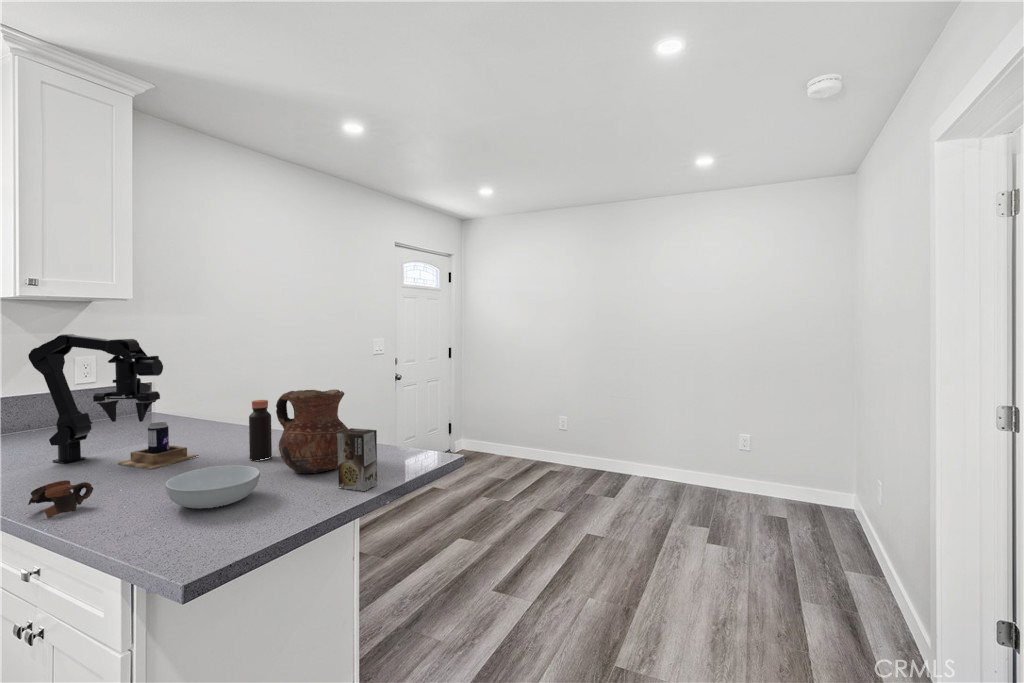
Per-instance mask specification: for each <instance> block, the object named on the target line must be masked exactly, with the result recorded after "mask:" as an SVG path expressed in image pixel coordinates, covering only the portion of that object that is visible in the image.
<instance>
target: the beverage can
mask: <svg viewBox="0 0 1024 683" xmlns="http://www.w3.org/2000/svg"><path fill="white" fill-rule="evenodd" d="M169 437H170V435H169V425H168V422H165V421H162V422H161V421H159V422H151V423H149V424H148V427H147V449H148V453H150V454H158V453H162V452H166V451H169V445H170V440H169Z"/></svg>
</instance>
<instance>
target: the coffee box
mask: <svg viewBox="0 0 1024 683" xmlns="http://www.w3.org/2000/svg"><path fill="white" fill-rule="evenodd" d="M337 436H338V468H337V469H338V470H337V471H338V474H337V475H338V476H337V477H338V479H337V480H338V488H339V487H341V488H346V489H354V490H353V491H355V490H361V491H360V492H363V491H365V492H367V491H369V490H370V489H369V488H371V487H373V486H375V485H377V486H378V455H377V454H378V449H377V448H378V446H377V444H378V443H377V442H378V441H377V437H378V436H377V429H365V428H355V427H354V428H348V429H347V430H344V431H342V432H339V433H337ZM375 487H376V486H375ZM373 488H374V487H373ZM346 489H345V490H346ZM368 489H369V490H368ZM371 489H372V488H371ZM366 490H367V491H366Z"/></svg>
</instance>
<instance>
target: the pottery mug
mask: <svg viewBox="0 0 1024 683" xmlns="http://www.w3.org/2000/svg"><path fill="white" fill-rule="evenodd" d="M83 489H85V492H84V493H83V494H81V492H82V490H83ZM93 491H94V487H93V486H92V484H91V483H90V482H87V481H85V482H80V483H77V484H71V481H70V480H58V481H55V482H51V483H48V484H45V485H42V486H39V487H37V488H35V489H34V490H32V491H31V492H30V495H31V498H30V499H29V501H28V503H27V505H28V506H30V505H32V504H43V503H52V502H53V505H51V506H49V507H47V508H45V509H44V513H45V516H46V517H47V518H50V517H54V516H56V515H59V514H62V513H63V514H64V513H68V512H73V511H77V508H78V507H77V506H80V505H82V504H83V501H85V500H87V499H88V498H90V496H91V494H92V493H93Z"/></svg>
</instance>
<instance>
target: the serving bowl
mask: <svg viewBox="0 0 1024 683" xmlns="http://www.w3.org/2000/svg"><path fill="white" fill-rule="evenodd" d="M260 476H261V471H260V470H259V469H258V468H256V467H253V466H251V465H249V466H248V465H238V464H237V465H218V466H217V465H216V466H211V467H210V466H209V467H202V468H199V469H194V470H190V471H186V472H182V473H181V474H178V475H174V476H173V477H171V478H169V479H168V480H167V481H166V482H165V484H164V486H165V490H166V494H167V496H168V497H169V499H170V501H172V502H174V504H176V505H178V506H180V507H183V508H189V509H202V508H208V509H214V508H213V507H216V508H219V506H221V507H223V505H224V506H227V505H230V504H233V503H236V502H238V501H241V500H242V499H244V498H246V497H247V496H249V495H250V494H252V493H253V491H254V490H255V489H256V487H257V485H258V484H259V481H260Z"/></svg>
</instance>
